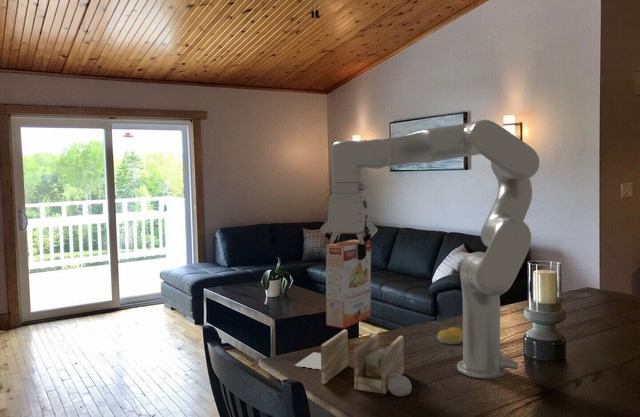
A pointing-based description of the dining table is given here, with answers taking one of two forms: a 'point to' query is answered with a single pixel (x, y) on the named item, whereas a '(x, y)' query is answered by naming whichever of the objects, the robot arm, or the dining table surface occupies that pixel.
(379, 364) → the offcut
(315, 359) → the mat
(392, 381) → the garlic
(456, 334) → the bread roll
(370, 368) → the offcut
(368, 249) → the cracker box
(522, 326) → the dining table surface
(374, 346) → the rack
